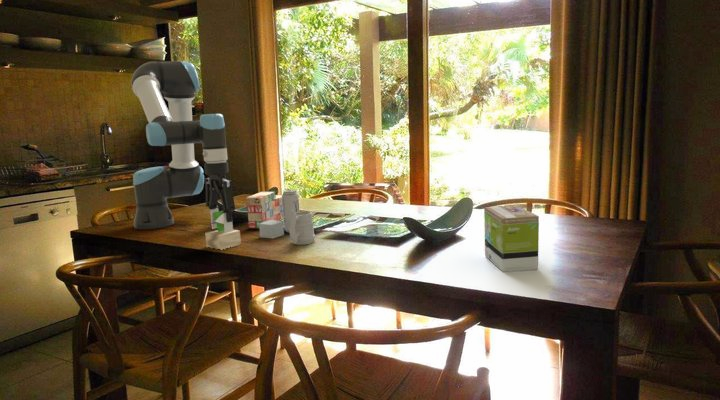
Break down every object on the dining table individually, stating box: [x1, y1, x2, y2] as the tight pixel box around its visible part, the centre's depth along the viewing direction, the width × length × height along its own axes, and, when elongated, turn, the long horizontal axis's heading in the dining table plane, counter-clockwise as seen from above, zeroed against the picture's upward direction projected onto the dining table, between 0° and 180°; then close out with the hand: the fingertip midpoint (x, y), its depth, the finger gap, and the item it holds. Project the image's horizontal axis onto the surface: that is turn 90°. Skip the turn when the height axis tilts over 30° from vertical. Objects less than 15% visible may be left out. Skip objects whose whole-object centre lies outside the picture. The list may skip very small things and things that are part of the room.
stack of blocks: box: [246, 191, 284, 229], centre depth 206 cm, size 21×6×12 cm, turn 163°
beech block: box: [204, 229, 242, 251], centre depth 173 cm, size 8×8×5 cm
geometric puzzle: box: [210, 210, 234, 232], centre depth 172 cm, size 7×7×8 cm
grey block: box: [258, 220, 285, 239], centre depth 184 cm, size 6×6×5 cm
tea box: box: [483, 204, 540, 273], centre depth 140 cm, size 15×10×15 cm, turn 5°
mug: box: [288, 210, 316, 246], centre depth 171 cm, size 8×12×12 cm, turn 156°
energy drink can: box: [281, 189, 301, 233], centre depth 189 cm, size 6×6×15 cm
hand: (222, 229), depth 173 cm, fingers closed on geometric puzzle, 8 cm apart
